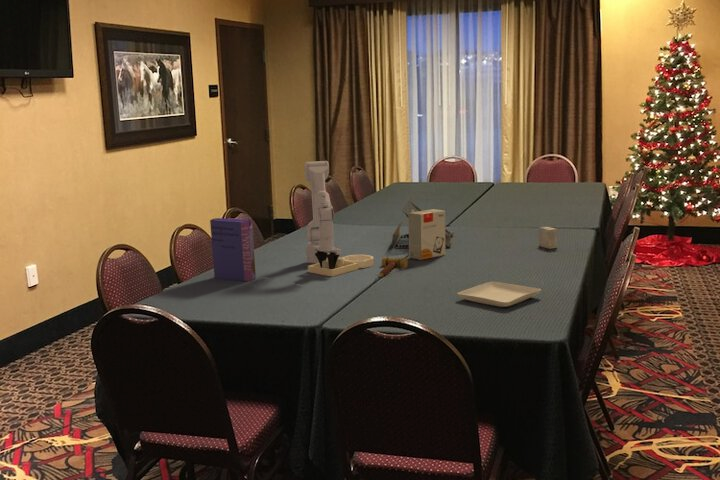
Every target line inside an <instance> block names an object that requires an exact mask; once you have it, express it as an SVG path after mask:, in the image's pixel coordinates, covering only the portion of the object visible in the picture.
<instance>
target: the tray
mask: <svg viewBox="0 0 720 480" xmlns="http://www.w3.org/2000/svg"><path fill="white" fill-rule="evenodd" d="M358 270H359V268H358V263H354V262H345V261H344V266H343V267H339V268H336V269H327V268H321V267H320V263H317V264H316V263H312V264H310V265H307V272H308V273H312V274H318V275H321V276H328V277H336V276H340V275H343V274H346V273H350V272H354V271H358Z"/></svg>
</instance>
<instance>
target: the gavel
mask: <svg viewBox="0 0 720 480" xmlns="http://www.w3.org/2000/svg"><path fill="white" fill-rule="evenodd" d="M381 266H382V267H383V269H382V270H381V271H380V272H379V274H378V275H379V278H383V277H386V276H387V275H388V274H390V272H391V271H392V270H394V268H402V269H403V270H404V269H407V268H408V258H407V257H401V258H398V257H389V256H383V257H382V258H381Z"/></svg>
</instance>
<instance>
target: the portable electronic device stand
mask: <svg viewBox="0 0 720 480" xmlns="http://www.w3.org/2000/svg"><path fill="white" fill-rule="evenodd" d="M418 211H423V210H422V209H420V208H419V207H418V206H417V205H415V203H413V202H412V201H410V200H408V201H407V203H406V204H405V206H404V207H403V209H402V212H403V214H405V216H406V217H407V219H409V213H411V212H418ZM402 226H403V222H402V221H401V222H400V223H399V224H398V226H397V227H396V229H395V231H394V232H393V234H392V242H391V249H392V250H393V248H394V249H395V250H409V244H399V243H400V241H401V239H406V238H407V239H409V233H407V234H401V227H402ZM454 233H455V232H452V233H451V231H449V230H448V229H446V228H445V250H446V249H449V248H450V247H451V245H452V242H451V240H452V237H453V235H454ZM400 235H401V236H400ZM446 237H447V238H446Z"/></svg>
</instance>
